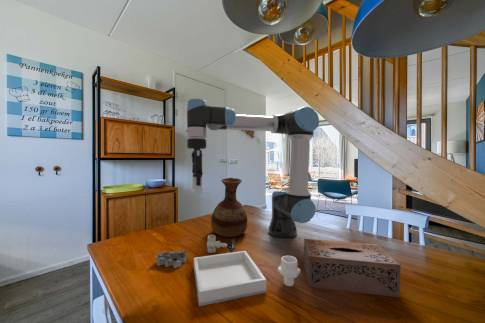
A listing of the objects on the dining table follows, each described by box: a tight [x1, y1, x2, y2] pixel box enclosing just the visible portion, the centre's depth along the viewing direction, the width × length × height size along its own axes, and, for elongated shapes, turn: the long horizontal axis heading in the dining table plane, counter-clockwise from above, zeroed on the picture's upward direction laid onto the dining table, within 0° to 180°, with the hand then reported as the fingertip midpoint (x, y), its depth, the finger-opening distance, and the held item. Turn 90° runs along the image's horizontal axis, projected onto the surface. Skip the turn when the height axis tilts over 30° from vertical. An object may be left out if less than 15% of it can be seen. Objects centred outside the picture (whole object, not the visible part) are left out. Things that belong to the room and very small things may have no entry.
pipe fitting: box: [277, 255, 301, 287], centre depth 67 cm, size 6×7×8 cm
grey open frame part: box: [155, 250, 188, 269], centre depth 79 cm, size 11×8×4 cm
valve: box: [206, 234, 236, 254], centre depth 88 cm, size 7×7×12 cm
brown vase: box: [210, 177, 248, 238], centre depth 111 cm, size 20×20×30 cm
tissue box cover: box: [303, 238, 401, 298], centre depth 70 cm, size 26×14×10 cm, turn 79°
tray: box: [193, 250, 267, 307], centre depth 68 cm, size 20×20×4 cm
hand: (196, 191), depth 83 cm, fingers open, 13 cm apart
